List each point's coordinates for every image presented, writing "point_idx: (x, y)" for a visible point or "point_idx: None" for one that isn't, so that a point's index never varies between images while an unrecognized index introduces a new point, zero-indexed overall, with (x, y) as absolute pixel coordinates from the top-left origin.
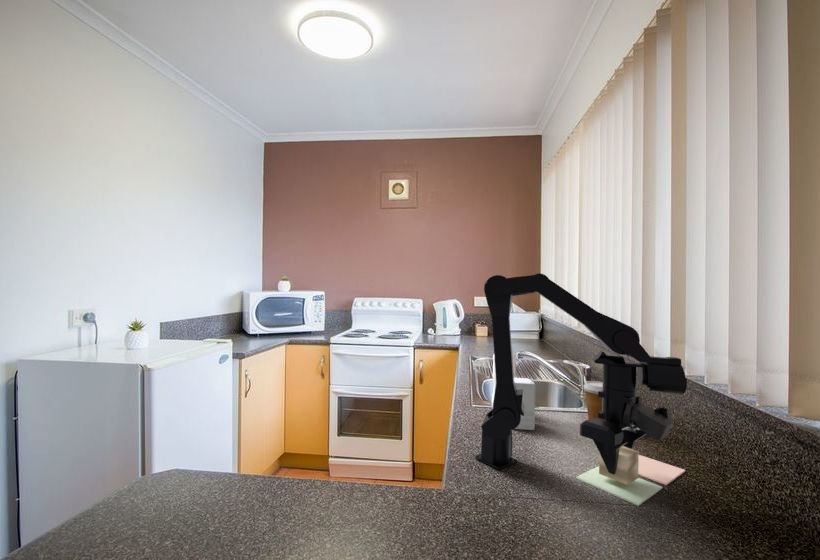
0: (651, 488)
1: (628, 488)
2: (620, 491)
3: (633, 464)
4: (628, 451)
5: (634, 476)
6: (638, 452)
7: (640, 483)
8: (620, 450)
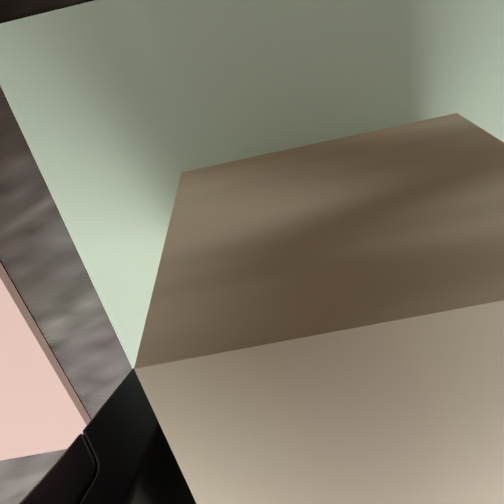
0: (139, 45)
1: (364, 128)
2: (488, 118)
3: (339, 221)
4: (359, 404)
5: (279, 166)
6: (139, 351)
7: (154, 152)
8: (450, 454)
